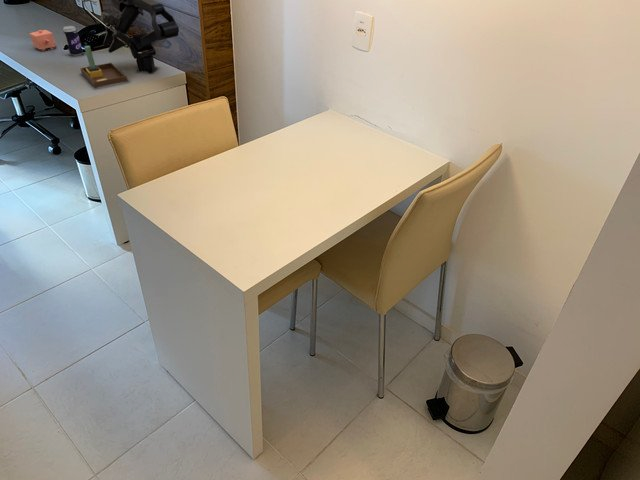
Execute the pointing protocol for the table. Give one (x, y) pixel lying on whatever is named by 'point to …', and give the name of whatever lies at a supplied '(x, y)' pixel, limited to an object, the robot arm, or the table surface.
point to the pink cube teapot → (43, 39)
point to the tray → (106, 75)
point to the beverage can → (72, 40)
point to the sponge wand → (92, 64)
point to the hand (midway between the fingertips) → (106, 48)
